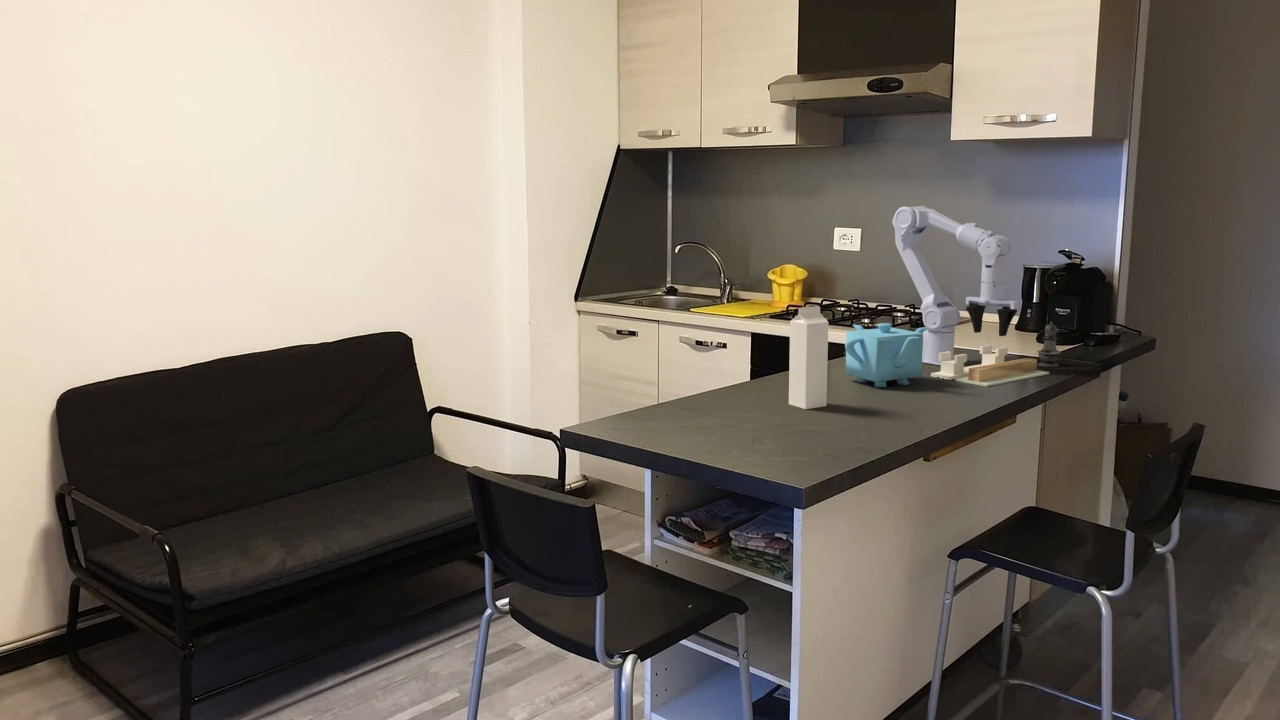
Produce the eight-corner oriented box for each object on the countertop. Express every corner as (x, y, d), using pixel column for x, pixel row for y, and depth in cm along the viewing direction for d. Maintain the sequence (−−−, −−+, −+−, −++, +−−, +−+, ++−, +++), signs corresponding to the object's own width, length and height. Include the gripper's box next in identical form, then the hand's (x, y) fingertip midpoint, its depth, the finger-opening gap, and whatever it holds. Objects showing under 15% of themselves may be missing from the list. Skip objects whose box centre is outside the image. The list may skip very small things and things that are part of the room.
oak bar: (968, 380, 238) (968, 368, 237) (1025, 369, 251) (1026, 357, 251) (978, 382, 235) (979, 370, 235) (1036, 370, 249) (1037, 359, 248)
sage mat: (955, 380, 240) (955, 378, 239) (1017, 369, 254) (1018, 367, 254) (986, 386, 232) (986, 384, 232) (1049, 374, 247) (1049, 372, 247)
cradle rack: (930, 376, 246) (931, 353, 245) (993, 364, 260) (994, 343, 259) (950, 379, 241) (951, 357, 240) (1012, 368, 255) (1014, 346, 254)
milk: (826, 406, 213) (829, 307, 209) (805, 409, 210) (807, 309, 206) (808, 401, 218) (811, 304, 214) (787, 404, 216) (790, 306, 212)
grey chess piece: (1056, 363, 262) (1059, 319, 260) (1063, 367, 256) (1066, 322, 254) (1033, 363, 263) (1036, 319, 261) (1040, 366, 257) (1043, 322, 255)
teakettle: (839, 387, 233) (841, 327, 231) (851, 373, 251) (852, 317, 248) (920, 392, 227) (923, 330, 224) (926, 377, 244) (929, 320, 242)
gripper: (959, 281, 254) (957, 332, 256) (1008, 285, 242) (1004, 338, 244) (976, 279, 258) (973, 329, 260) (1024, 283, 246) (1021, 336, 248)
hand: (989, 334), depth 253 cm, fingers open, 7 cm apart
